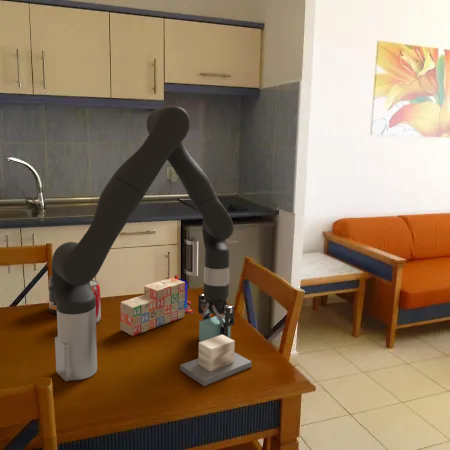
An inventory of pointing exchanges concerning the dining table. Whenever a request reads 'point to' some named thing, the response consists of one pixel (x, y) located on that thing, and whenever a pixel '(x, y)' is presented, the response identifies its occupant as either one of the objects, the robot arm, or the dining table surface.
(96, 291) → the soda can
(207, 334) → the teal brick
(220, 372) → the baseplate
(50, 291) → the supplement container
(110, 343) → the dining table surface
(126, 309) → the stack of blocks
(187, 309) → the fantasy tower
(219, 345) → the cream brick
